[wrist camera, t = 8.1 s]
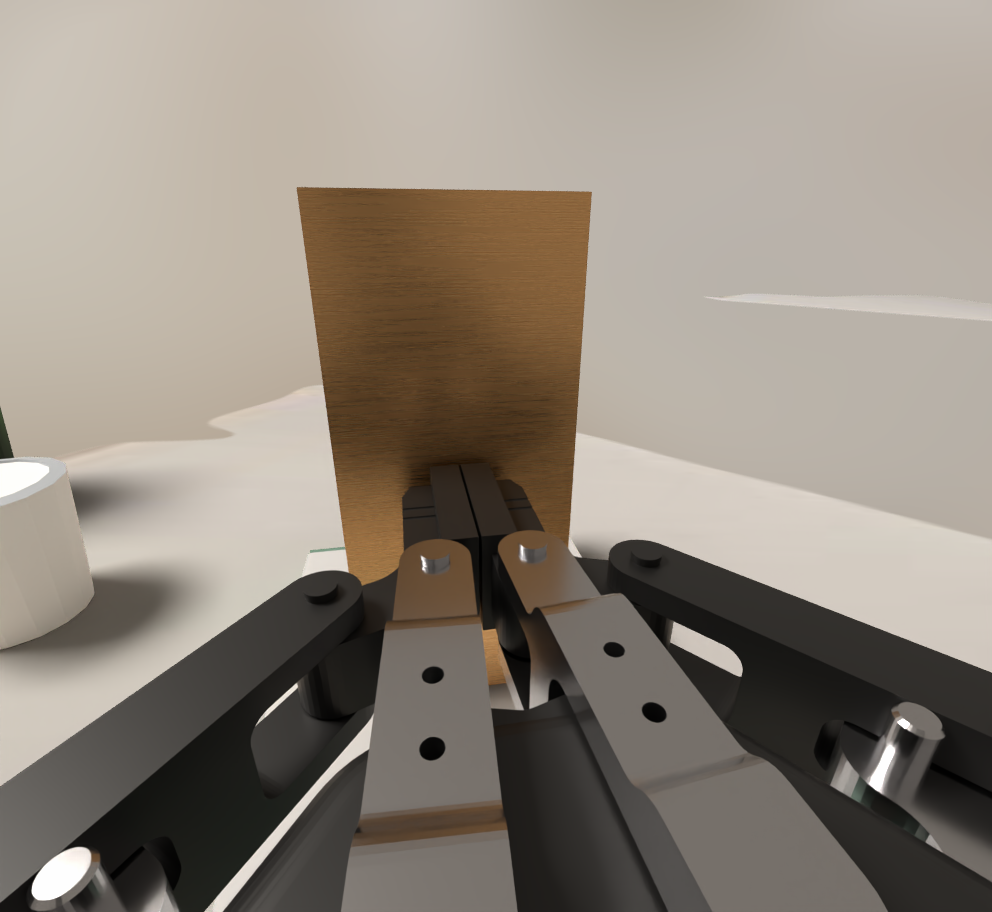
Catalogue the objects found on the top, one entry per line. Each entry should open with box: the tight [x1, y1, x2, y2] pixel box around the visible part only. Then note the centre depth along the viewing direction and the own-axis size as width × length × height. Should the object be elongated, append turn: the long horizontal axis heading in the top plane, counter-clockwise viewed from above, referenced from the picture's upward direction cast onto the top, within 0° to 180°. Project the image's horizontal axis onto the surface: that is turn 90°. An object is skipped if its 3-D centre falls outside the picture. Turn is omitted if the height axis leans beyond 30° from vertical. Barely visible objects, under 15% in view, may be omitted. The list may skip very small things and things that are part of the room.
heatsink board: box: [212, 536, 582, 912], centre depth 18 cm, size 24×14×8 cm, turn 10°
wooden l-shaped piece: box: [297, 187, 592, 685], centre depth 19 cm, size 12×6×14 cm, turn 10°
